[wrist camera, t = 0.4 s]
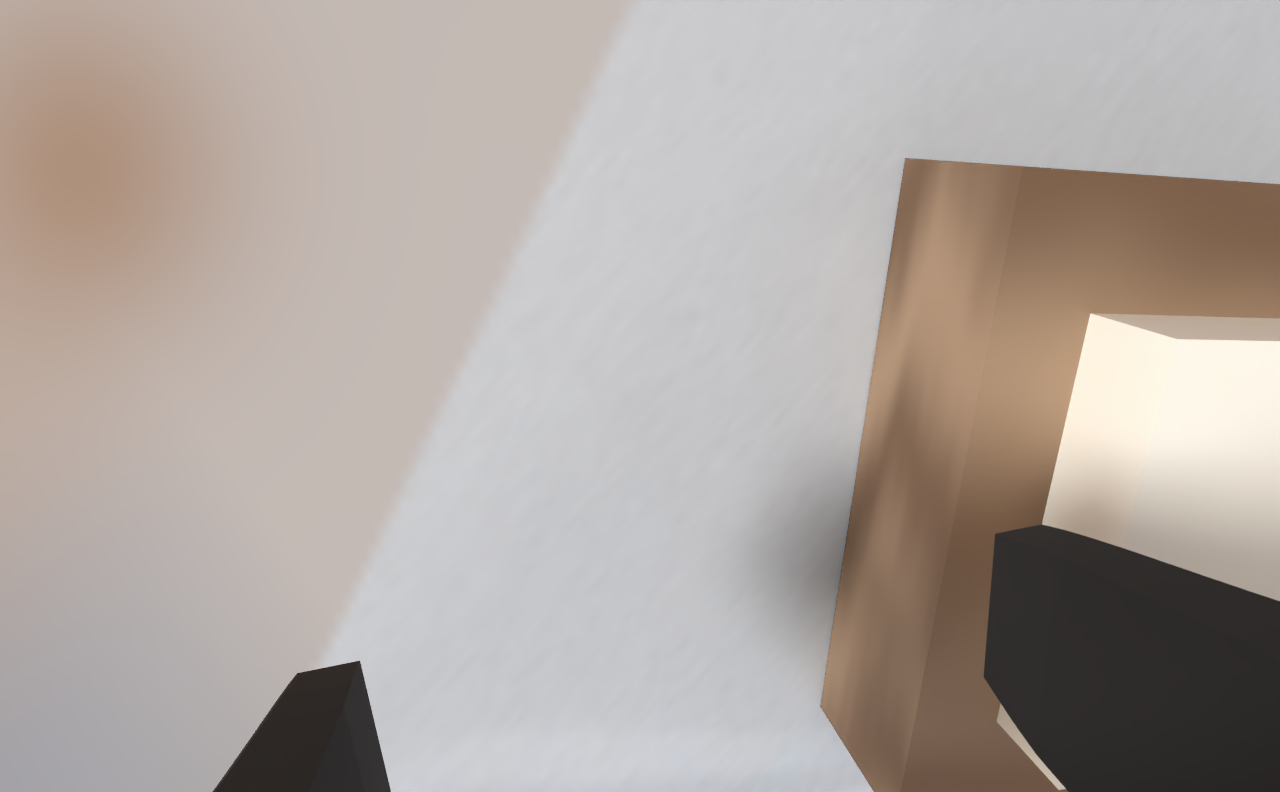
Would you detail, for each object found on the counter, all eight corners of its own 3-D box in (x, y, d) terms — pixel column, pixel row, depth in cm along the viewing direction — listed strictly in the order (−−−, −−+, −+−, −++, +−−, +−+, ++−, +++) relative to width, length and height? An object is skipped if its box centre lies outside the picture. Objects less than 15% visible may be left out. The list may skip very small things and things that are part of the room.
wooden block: (1197, 674, 25) (1328, 771, 21) (820, 706, 22) (894, 824, 18) (1346, 189, 21) (1543, 203, 17) (905, 158, 18) (1023, 167, 14)
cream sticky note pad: (1224, 700, 19) (1306, 760, 18) (996, 721, 18) (1058, 790, 16) (1347, 320, 17) (1459, 344, 15) (1090, 313, 15) (1177, 339, 14)
